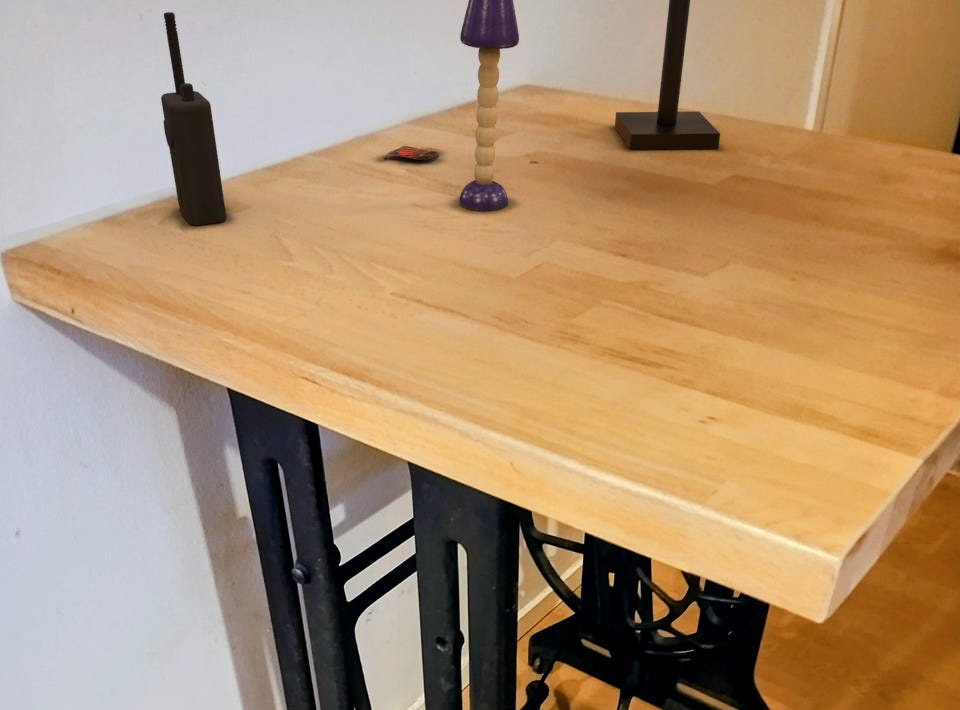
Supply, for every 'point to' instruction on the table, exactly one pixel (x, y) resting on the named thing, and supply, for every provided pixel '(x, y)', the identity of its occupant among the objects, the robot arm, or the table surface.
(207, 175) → the walkie-talkie
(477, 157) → the toy lamp
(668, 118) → the stand
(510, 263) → the table surface
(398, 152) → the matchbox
